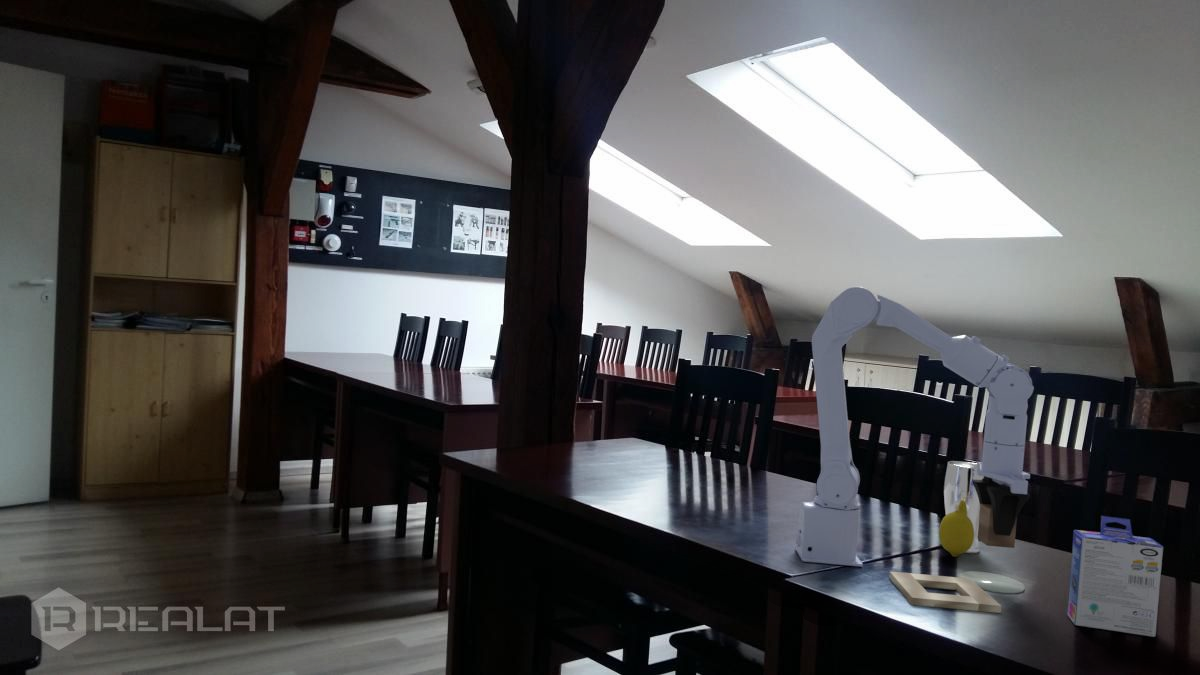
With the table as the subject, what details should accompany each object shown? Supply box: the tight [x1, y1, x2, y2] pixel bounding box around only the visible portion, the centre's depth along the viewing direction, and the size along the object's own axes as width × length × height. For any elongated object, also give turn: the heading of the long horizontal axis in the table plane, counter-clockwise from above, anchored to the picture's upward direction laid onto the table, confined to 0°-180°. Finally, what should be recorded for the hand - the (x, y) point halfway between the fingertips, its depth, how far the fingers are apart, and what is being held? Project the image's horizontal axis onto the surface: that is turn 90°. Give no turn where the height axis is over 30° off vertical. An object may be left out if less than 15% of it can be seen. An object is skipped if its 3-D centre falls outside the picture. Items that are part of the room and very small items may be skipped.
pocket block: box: [888, 570, 1002, 614], centre depth 124 cm, size 12×12×1 cm
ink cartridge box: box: [1067, 515, 1164, 638], centre depth 116 cm, size 10×6×14 cm, turn 74°
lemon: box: [938, 510, 974, 558], centre depth 146 cm, size 6×6×8 cm
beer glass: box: [943, 460, 984, 554], centre depth 151 cm, size 7×7×15 cm
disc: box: [959, 571, 1025, 594], centre depth 132 cm, size 9×9×1 cm
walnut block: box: [977, 504, 1018, 549], centre depth 131 cm, size 4×4×6 cm
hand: (996, 530), depth 131 cm, fingers closed on walnut block, 4 cm apart
